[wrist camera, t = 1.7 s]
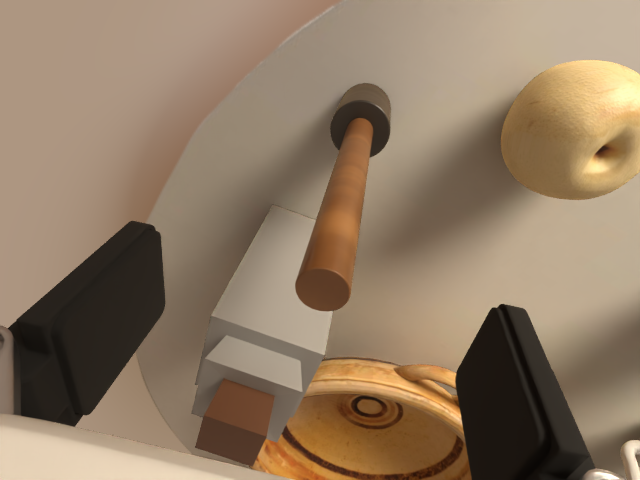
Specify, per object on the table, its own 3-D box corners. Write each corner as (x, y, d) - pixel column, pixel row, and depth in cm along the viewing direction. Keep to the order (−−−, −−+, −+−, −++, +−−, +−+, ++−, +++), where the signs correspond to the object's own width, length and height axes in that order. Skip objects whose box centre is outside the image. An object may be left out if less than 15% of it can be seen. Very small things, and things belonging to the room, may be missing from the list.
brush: (344, 78, 27) (265, 223, 10) (396, 88, 27) (402, 254, 10) (335, 129, 29) (256, 321, 12) (383, 139, 29) (369, 348, 12)
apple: (499, 49, 24) (629, 31, 17) (583, 83, 27) (721, 79, 20) (459, 174, 26) (561, 202, 19) (542, 192, 29) (654, 222, 23)
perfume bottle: (347, 231, 33) (311, 429, 18) (323, 287, 37) (275, 490, 22) (272, 204, 33) (173, 383, 18) (255, 263, 37) (160, 452, 22)
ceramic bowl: (373, 483, 54) (370, 552, 48) (219, 406, 50) (193, 469, 44) (550, 381, 39) (583, 462, 32) (349, 257, 35) (339, 320, 28)
